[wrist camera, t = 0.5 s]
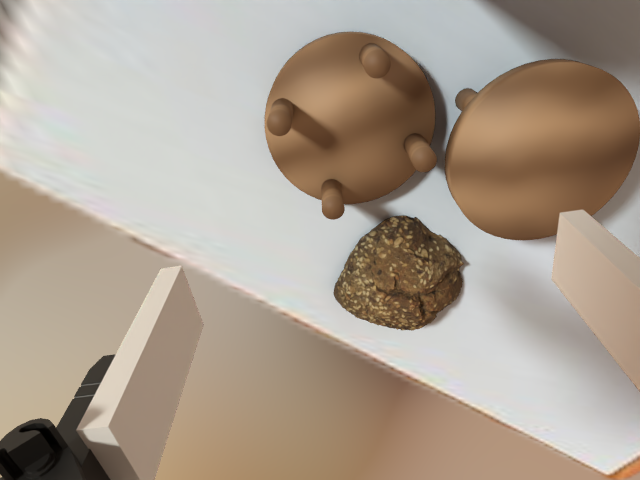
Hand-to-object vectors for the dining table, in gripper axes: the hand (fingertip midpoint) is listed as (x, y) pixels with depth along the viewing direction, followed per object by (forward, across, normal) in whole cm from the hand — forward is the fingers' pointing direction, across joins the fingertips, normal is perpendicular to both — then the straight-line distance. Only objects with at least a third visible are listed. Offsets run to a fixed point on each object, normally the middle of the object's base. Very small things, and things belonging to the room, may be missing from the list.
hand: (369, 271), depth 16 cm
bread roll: (+26, +4, -19) cm, 32 cm away
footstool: (+25, +15, -5) cm, 30 cm away
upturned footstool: (+25, +1, -2) cm, 25 cm away
